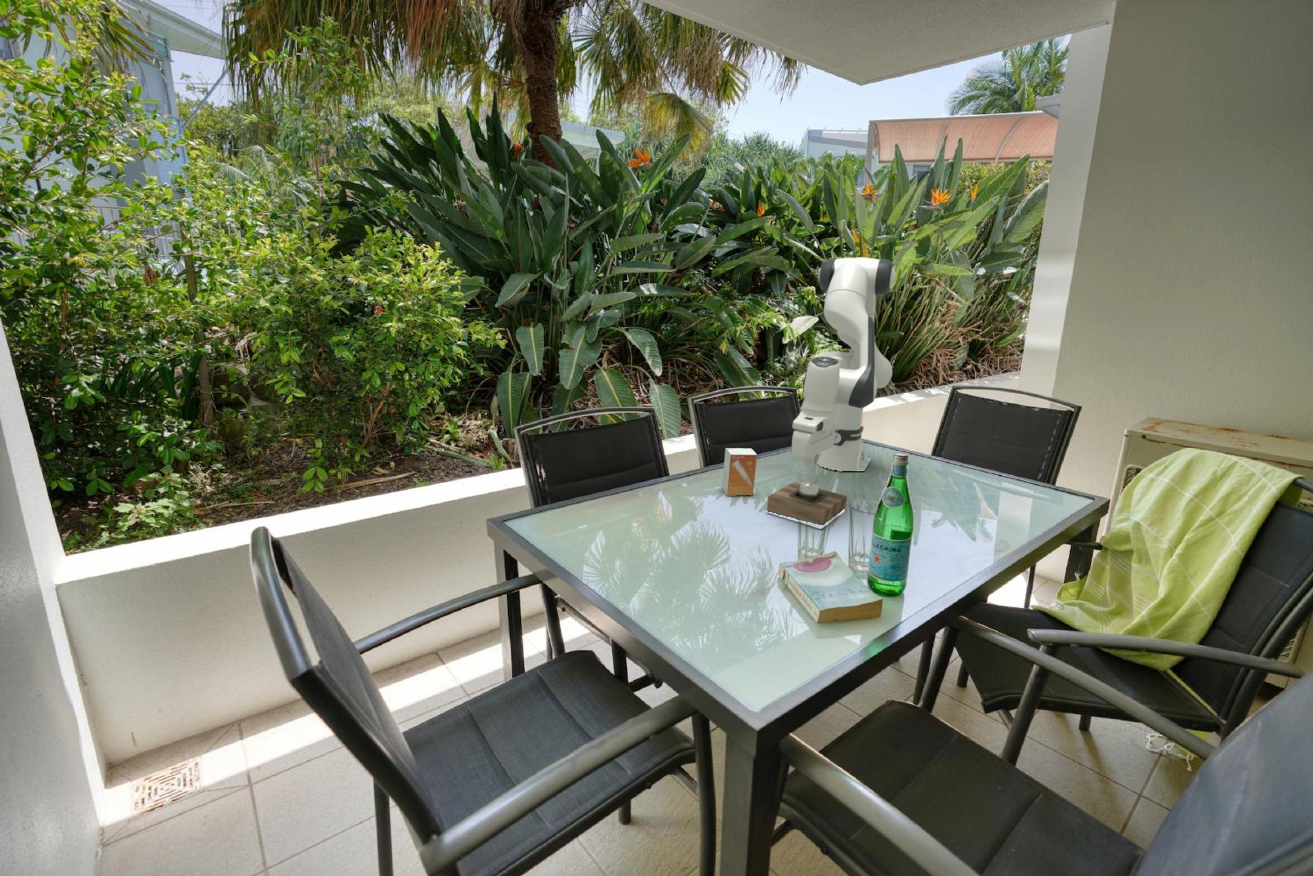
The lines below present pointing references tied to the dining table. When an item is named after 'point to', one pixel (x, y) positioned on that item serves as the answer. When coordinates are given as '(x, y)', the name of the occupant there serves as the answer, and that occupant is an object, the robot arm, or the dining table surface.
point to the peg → (809, 490)
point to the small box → (739, 471)
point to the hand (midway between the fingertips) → (811, 468)
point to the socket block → (806, 504)
